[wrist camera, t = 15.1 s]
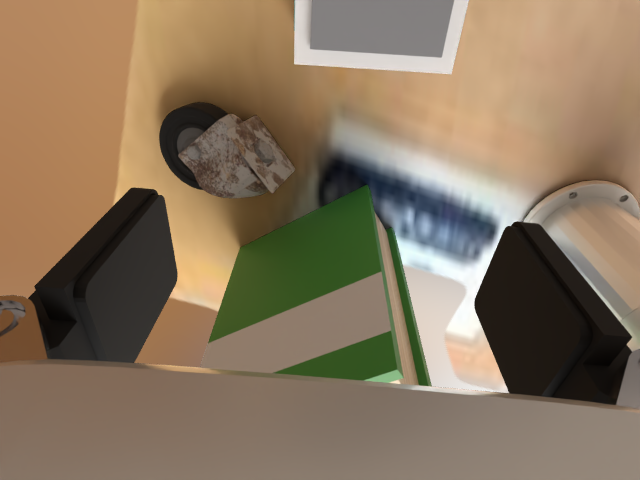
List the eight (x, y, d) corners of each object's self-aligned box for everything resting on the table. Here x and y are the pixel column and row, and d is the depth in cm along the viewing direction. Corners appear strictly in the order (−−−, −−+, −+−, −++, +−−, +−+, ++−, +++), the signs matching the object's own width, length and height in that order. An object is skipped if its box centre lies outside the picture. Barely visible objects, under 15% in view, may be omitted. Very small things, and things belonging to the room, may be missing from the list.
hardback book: (367, 184, 42) (397, 369, 22) (394, 232, 46) (441, 429, 26) (240, 247, 48) (174, 441, 28) (273, 286, 51) (236, 482, 31)
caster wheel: (171, 126, 42) (231, 69, 37) (236, 209, 45) (300, 166, 40) (128, 143, 36) (193, 79, 31) (206, 236, 39) (276, 191, 34)
